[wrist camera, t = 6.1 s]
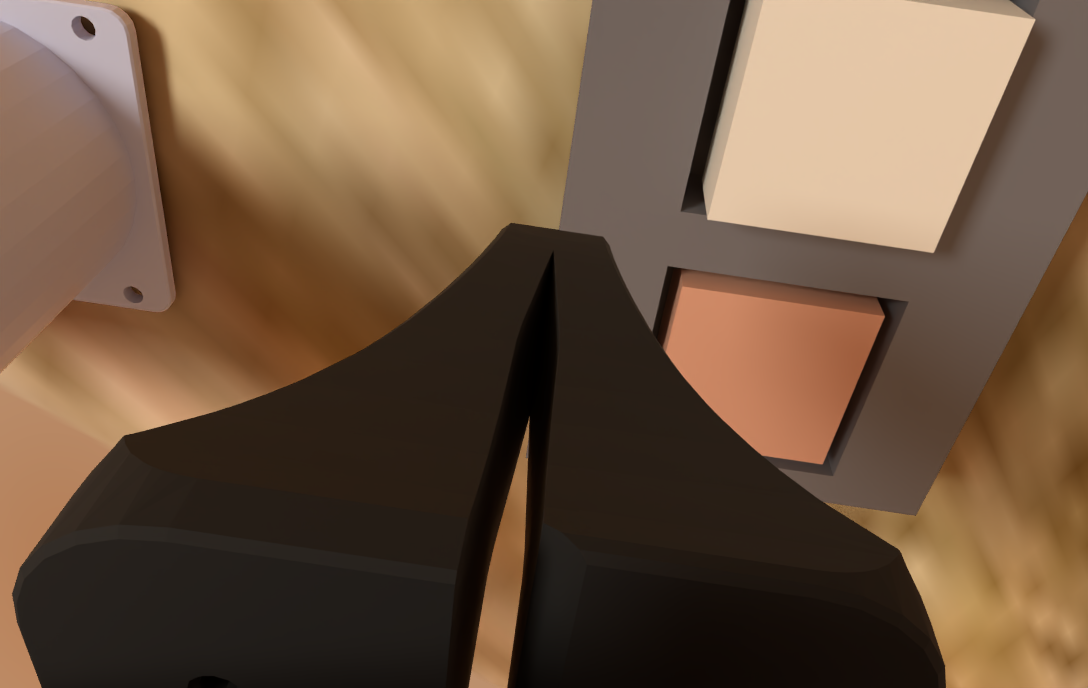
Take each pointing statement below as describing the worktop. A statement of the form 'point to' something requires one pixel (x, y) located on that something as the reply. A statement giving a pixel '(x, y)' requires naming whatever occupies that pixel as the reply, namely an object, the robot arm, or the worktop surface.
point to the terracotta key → (770, 355)
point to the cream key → (858, 114)
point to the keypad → (828, 263)
